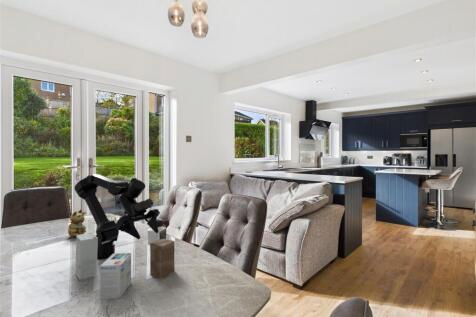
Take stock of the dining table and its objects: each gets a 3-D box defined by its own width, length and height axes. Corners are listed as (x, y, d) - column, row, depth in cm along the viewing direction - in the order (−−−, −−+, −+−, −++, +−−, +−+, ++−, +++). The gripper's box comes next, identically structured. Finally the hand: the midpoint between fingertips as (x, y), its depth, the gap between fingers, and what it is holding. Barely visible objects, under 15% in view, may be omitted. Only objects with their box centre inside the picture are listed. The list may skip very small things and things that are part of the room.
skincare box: (74, 273, 99) (74, 235, 99) (92, 268, 103) (92, 231, 103) (80, 280, 93) (80, 239, 93) (98, 275, 97) (98, 236, 97)
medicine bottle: (159, 245, 132) (159, 221, 132) (147, 244, 133) (147, 221, 133) (166, 240, 139) (166, 218, 139) (154, 239, 140) (154, 217, 140)
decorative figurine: (77, 238, 142) (77, 211, 142) (63, 238, 143) (63, 211, 143) (88, 233, 152) (88, 208, 152) (74, 233, 152) (74, 208, 152)
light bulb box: (112, 283, 91) (112, 252, 91) (132, 282, 92) (131, 252, 92) (98, 299, 81) (98, 265, 81) (120, 298, 81) (120, 264, 81)
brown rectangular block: (150, 274, 98) (150, 243, 98) (162, 268, 103) (162, 238, 103) (162, 278, 95) (162, 245, 95) (174, 271, 100) (174, 241, 100)
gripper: (119, 195, 97) (140, 228, 92) (157, 190, 114) (175, 218, 108) (106, 214, 101) (125, 247, 96) (144, 206, 117) (162, 234, 112)
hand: (149, 235), depth 103 cm, fingers open, 9 cm apart
